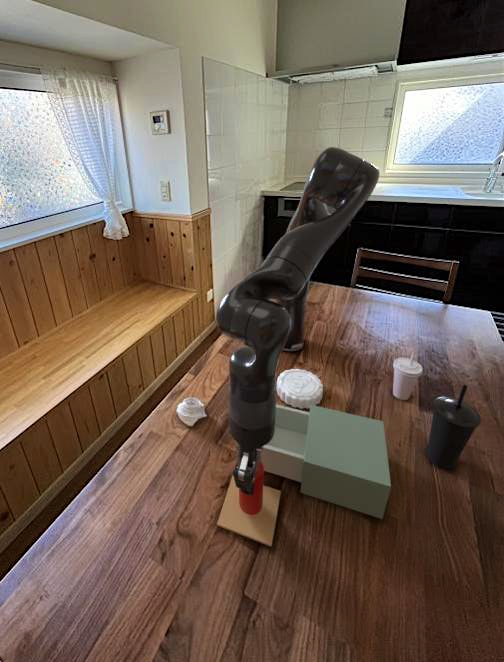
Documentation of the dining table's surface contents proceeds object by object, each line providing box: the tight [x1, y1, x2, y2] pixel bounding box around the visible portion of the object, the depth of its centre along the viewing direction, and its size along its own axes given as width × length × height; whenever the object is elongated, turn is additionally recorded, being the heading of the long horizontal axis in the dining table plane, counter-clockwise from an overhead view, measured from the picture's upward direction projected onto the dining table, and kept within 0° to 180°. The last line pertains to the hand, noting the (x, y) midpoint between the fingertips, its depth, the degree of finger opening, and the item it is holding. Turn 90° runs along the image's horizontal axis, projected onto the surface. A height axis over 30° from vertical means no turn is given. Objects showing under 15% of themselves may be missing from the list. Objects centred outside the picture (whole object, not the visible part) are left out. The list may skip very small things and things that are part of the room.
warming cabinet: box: [300, 405, 392, 520], centre depth 68 cm, size 15×15×9 cm
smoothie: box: [392, 350, 424, 401], centre depth 85 cm, size 6×6×14 cm
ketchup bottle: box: [239, 459, 265, 515], centre depth 61 cm, size 4×4×12 cm
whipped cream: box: [176, 397, 208, 427], centre depth 85 cm, size 8×7×5 cm
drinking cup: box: [426, 384, 482, 470], centre depth 67 cm, size 8×8×20 cm
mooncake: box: [275, 368, 324, 410], centre depth 90 cm, size 12×12×4 cm
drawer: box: [261, 404, 310, 483], centre depth 72 cm, size 15×13×7 cm
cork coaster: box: [216, 475, 282, 548], centre depth 64 cm, size 10×10×1 cm
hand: (250, 478), depth 61 cm, fingers closed on ketchup bottle, 4 cm apart
